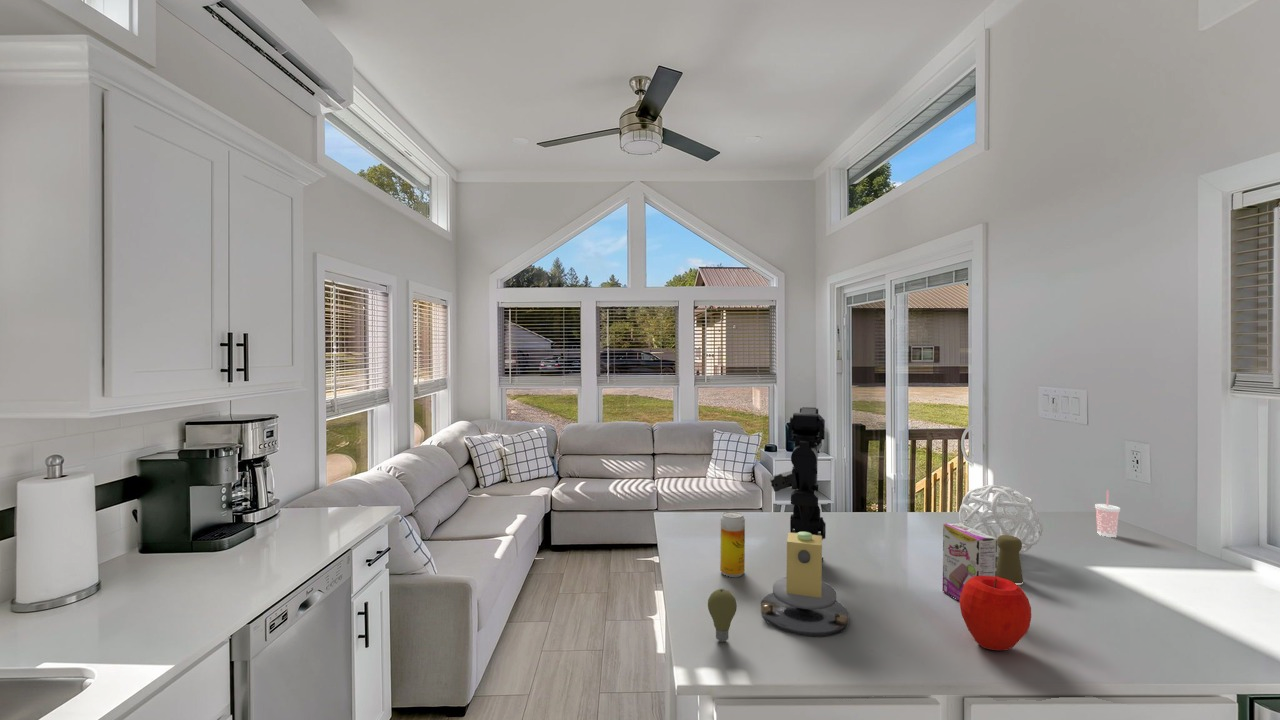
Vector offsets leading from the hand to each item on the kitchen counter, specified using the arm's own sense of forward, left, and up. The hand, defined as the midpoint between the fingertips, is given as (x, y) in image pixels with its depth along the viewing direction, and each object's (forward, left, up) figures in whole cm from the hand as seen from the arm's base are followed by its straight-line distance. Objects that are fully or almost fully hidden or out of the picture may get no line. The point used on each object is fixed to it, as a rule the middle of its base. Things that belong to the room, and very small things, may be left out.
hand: (804, 525), depth 140 cm
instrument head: (+16, +14, -9) cm, 23 cm away
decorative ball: (-58, +18, -13) cm, 62 cm away
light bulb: (+38, +13, -13) cm, 42 cm away
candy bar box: (-21, +29, -13) cm, 38 cm away
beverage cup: (-106, +27, -13) cm, 110 cm away
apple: (-5, +42, -13) cm, 44 cm away
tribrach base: (+16, +14, -13) cm, 25 cm away
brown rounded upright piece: (-42, +28, -13) cm, 52 cm away
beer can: (+14, -11, -13) cm, 22 cm away
